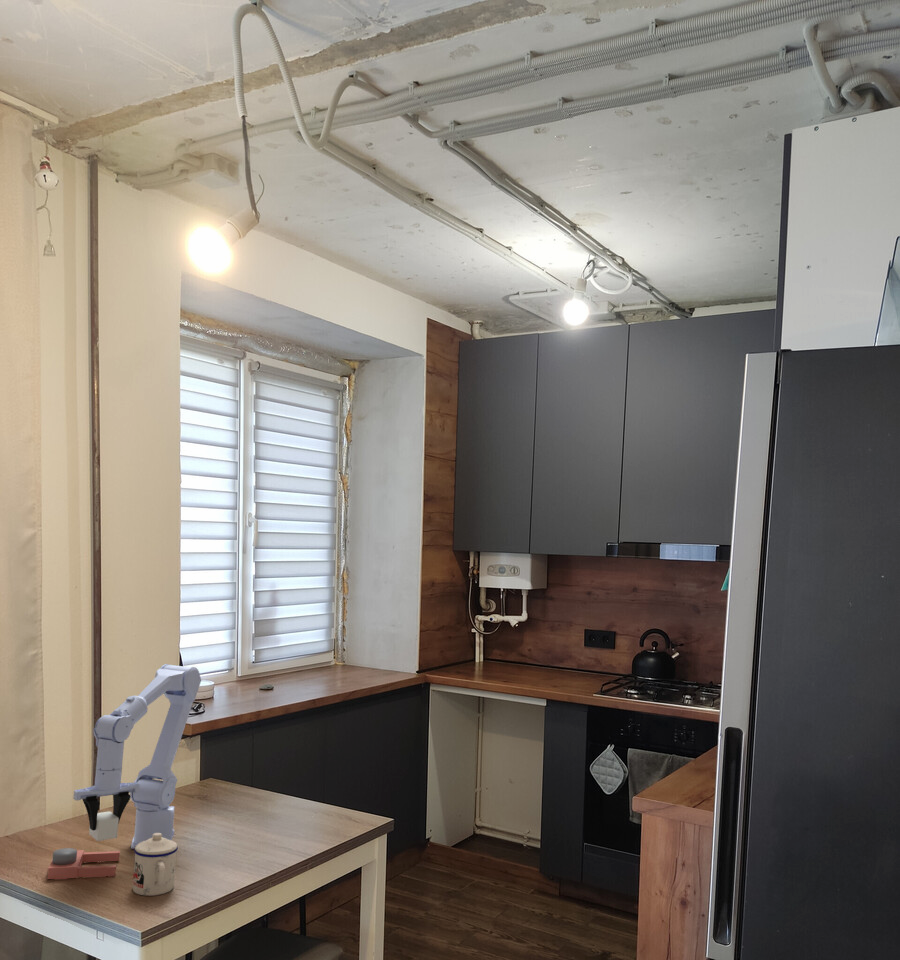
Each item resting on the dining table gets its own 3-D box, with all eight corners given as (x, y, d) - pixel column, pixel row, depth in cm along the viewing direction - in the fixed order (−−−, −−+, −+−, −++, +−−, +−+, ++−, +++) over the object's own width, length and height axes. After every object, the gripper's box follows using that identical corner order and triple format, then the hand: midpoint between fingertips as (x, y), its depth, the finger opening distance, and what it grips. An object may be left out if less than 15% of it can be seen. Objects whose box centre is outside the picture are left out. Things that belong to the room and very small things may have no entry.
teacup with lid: (127, 884, 191) (131, 829, 192) (169, 878, 196) (173, 825, 197) (137, 904, 181) (142, 847, 182) (182, 898, 185) (186, 842, 186)
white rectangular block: (108, 830, 206) (109, 811, 206) (117, 837, 202) (118, 818, 202) (88, 833, 203) (90, 814, 204) (97, 841, 199) (99, 821, 199)
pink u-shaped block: (119, 859, 206) (121, 839, 206) (114, 876, 195) (116, 856, 195) (55, 862, 202) (57, 842, 202) (47, 879, 191) (49, 858, 192)
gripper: (133, 760, 211) (128, 818, 210) (71, 767, 202) (66, 827, 201) (144, 767, 206) (139, 825, 205) (81, 774, 197) (75, 836, 195)
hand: (104, 827), depth 202 cm, fingers closed on white rectangular block, 4 cm apart
